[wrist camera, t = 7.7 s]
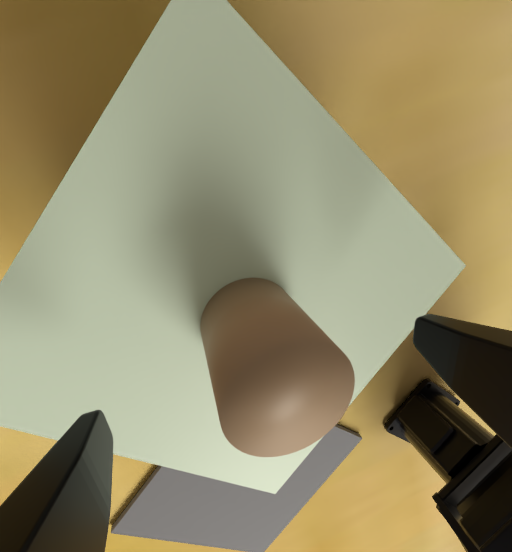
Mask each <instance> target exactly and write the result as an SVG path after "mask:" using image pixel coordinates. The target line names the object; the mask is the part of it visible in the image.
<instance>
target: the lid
mask: <svg viewBox="0 0 512 552" xmlns="http://www.w3.org/2000/svg"><path fill="white" fill-rule="evenodd" d="M465 266H466V265H465V264H464V263H463V262H462V261H461V260H460V259H459V257H458V256H457V255H456V254H455V253H454V252H453V251H452V250H451V249H450V247H449V246H448V245H447V244H446V243H445V242H444V241H443V240H442V239H441V237H440V236H439V235H438V234H437V233H436V232H435V231H434V230H433V229H432V227H431V226H430V225H429V224H428V223H427V222H426V221H425V220H424V219H423V217H422V216H421V215H420V214H419V213H418V212H417V211H416V210H415V209H414V208H413V206H412V205H411V204H410V203H409V202H408V201H407V200H406V199H405V198H404V196H403V195H402V194H401V193H400V192H399V191H398V190H397V189H396V188H395V186H394V185H393V184H392V183H391V182H390V181H389V180H388V179H387V178H386V176H385V175H384V174H383V173H382V172H381V171H380V170H379V169H378V168H377V166H376V165H375V164H374V163H373V162H372V161H371V160H370V159H369V158H368V157H367V155H366V154H365V153H364V152H363V151H362V150H361V149H360V148H359V147H358V145H357V144H356V143H355V142H354V141H353V140H352V139H351V138H350V137H349V135H348V134H347V133H346V132H345V131H344V130H343V129H342V128H341V127H340V125H339V124H338V123H337V122H336V121H335V120H334V119H333V118H332V117H331V115H330V114H329V113H328V112H327V111H326V110H325V109H324V108H323V107H322V106H321V104H320V103H319V102H318V101H317V100H316V99H315V98H314V97H313V96H312V94H311V93H310V92H309V91H308V90H307V89H306V88H305V87H304V86H303V84H302V83H301V82H300V81H299V80H298V79H297V78H296V77H295V76H294V74H293V73H292V72H291V71H290V70H289V69H288V68H287V67H286V66H285V65H284V63H283V62H282V61H281V60H280V59H279V58H278V57H277V56H276V55H275V53H274V52H273V51H272V50H271V49H270V48H269V47H268V46H267V45H266V43H265V42H264V41H263V40H262V39H261V38H260V37H259V36H258V35H257V33H256V32H255V31H254V30H253V29H252V28H251V27H250V26H249V25H248V23H247V22H246V21H245V20H244V19H243V18H242V17H241V16H240V15H239V14H238V12H237V11H236V10H235V9H234V8H233V7H232V6H231V5H230V4H229V2H228V1H227V0H171V1H170V3H169V4H168V6H167V8H166V9H165V11H164V13H163V14H162V16H161V18H160V19H159V21H158V23H157V24H156V26H155V28H154V29H153V31H152V33H151V34H150V36H149V38H148V39H147V41H146V43H145V44H144V46H143V47H142V49H141V51H140V52H139V54H138V56H137V57H136V59H135V61H134V62H133V64H132V66H131V67H130V69H129V71H128V72H127V74H126V76H125V77H124V79H123V81H122V82H121V84H120V86H119V87H118V89H117V90H116V92H115V94H114V95H113V97H112V99H111V100H110V102H109V104H108V105H107V107H106V109H105V110H104V112H103V114H102V115H101V117H100V119H99V120H98V122H97V124H96V125H95V127H94V129H93V130H92V132H91V133H90V135H89V137H88V138H87V140H86V142H85V143H84V145H83V147H82V148H81V150H80V152H79V153H78V155H77V157H76V158H75V160H74V162H73V163H72V165H71V167H70V168H69V170H68V172H67V173H66V175H65V177H64V178H63V180H62V181H61V183H60V185H59V186H58V188H57V190H56V191H55V193H54V195H53V196H52V198H51V200H50V201H49V203H48V205H47V206H46V208H45V210H44V211H43V213H42V215H41V216H40V218H39V220H38V221H37V223H36V224H35V226H34V228H33V229H32V231H31V233H30V234H29V236H28V238H27V239H26V241H25V243H24V244H23V246H22V248H21V249H20V251H19V253H18V254H17V256H16V258H15V259H14V261H13V263H12V264H11V266H10V267H9V269H8V271H7V272H6V274H5V276H4V277H3V279H2V281H1V282H0V426H1V427H5V428H9V429H13V430H18V431H22V432H26V433H30V434H34V435H38V436H42V437H46V438H50V439H54V440H59V439H60V438H61V437H62V436H63V435H64V434H65V432H66V431H67V430H68V429H69V428H70V427H71V426H72V424H73V423H74V422H75V421H76V420H77V419H78V418H79V417H80V416H81V415H82V414H84V413H88V412H91V411H95V410H101V411H102V412H103V413H104V415H105V418H106V420H107V423H108V425H109V427H110V430H111V432H112V435H113V454H115V455H119V456H123V457H127V458H131V459H135V460H139V461H143V462H147V463H151V464H155V465H159V466H163V467H167V468H172V469H176V470H180V471H184V472H188V473H192V474H196V475H200V476H204V477H208V478H212V479H216V480H220V481H224V482H228V483H232V484H236V485H240V486H244V487H248V488H253V489H257V490H261V491H265V492H269V493H273V494H276V493H277V491H278V490H279V489H280V488H281V487H282V486H283V484H284V483H285V482H286V481H287V480H288V478H289V477H290V476H291V475H292V474H293V472H294V471H295V470H296V469H297V468H298V466H299V465H300V464H301V463H302V462H303V460H304V459H305V458H306V457H307V456H308V454H309V453H310V452H311V451H312V450H313V448H314V447H315V446H316V445H317V444H318V442H319V441H320V440H321V439H322V438H323V436H324V435H326V434H327V433H328V432H329V431H330V430H331V429H332V428H333V427H334V426H335V425H336V424H337V423H338V422H339V420H340V419H341V418H342V416H343V415H344V413H345V411H346V410H347V408H348V406H349V405H350V404H351V403H352V402H353V400H354V399H355V398H356V397H357V396H358V395H359V393H360V392H361V391H362V390H363V389H364V387H365V386H366V385H367V384H368V383H369V381H370V380H371V379H372V378H373V377H374V375H375V374H376V373H377V372H378V371H379V369H380V368H381V367H382V366H383V365H384V363H385V362H386V361H387V360H388V359H389V357H390V356H391V355H392V354H393V353H394V351H395V350H396V349H397V348H398V347H399V345H400V344H401V343H402V342H403V341H404V339H405V338H406V337H407V336H408V335H409V333H410V332H411V331H412V330H413V329H414V325H415V320H416V318H418V317H420V316H423V315H425V314H426V313H427V312H428V311H429V309H430V308H431V307H432V306H433V305H434V304H435V302H436V301H437V300H438V299H439V298H440V296H441V295H442V294H443V293H444V292H445V290H446V289H447V288H448V287H449V286H450V284H451V283H452V282H453V281H454V280H455V278H456V277H457V276H458V275H459V274H460V272H461V271H462V270H463V269H464V268H465Z"/></svg>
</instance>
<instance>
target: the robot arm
mask: <svg viewBox="0 0 512 552" xmlns="http://www.w3.org/2000/svg"><path fill="white" fill-rule="evenodd" d="M413 343H414V345H415V347H416V348H417V350H418V351H419V352H420V353H421V354H422V356H423V357H424V358H425V359H426V360H427V361H428V363H429V364H430V365H431V366H432V367H433V368H434V370H435V371H436V372H437V373H438V374H439V375H440V377H441V378H442V379H443V380H444V381H445V382H446V383H447V385H448V386H449V387H450V388H451V389H452V390H453V391H454V392H455V393H456V394H457V395H458V396H459V397H460V398H461V399H462V400H463V401H464V402H465V403H466V404H467V405H468V406H469V407H470V408H471V409H472V410H473V411H474V412H475V413H476V414H477V415H478V416H479V417H480V418H481V419H482V420H483V421H484V422H485V423H486V424H487V425H488V426H489V427H490V428H491V429H492V430H493V431H494V432H495V433H496V435H495V436H493V435H492V434H491V433H490V432H488V431H487V430H486V429H485V428H483V427H482V426H481V425H480V424H479V423H477V422H476V421H475V420H474V419H473V418H471V417H470V416H469V415H468V414H466V413H465V412H464V411H463V410H462V409H460V408H459V407H458V405H459V404H460V401H459V400H458V399H457V398H455V397H454V396H452V395H451V394H450V393H448V392H447V391H445V390H444V389H442V388H441V387H439V386H438V385H437V384H435V383H434V382H432V381H431V380H429V379H425V380H424V381H423V382H422V383H421V384H420V385H419V386H418V387H417V389H416V390H415V391H414V392H413V393H412V394H411V395H410V397H409V398H408V399H407V400H406V401H405V402H404V403H403V405H402V406H401V407H400V408H399V409H398V410H397V411H396V413H395V414H394V415H393V416H392V417H391V418H390V420H389V421H388V422H387V423H386V424H385V426H384V428H385V429H386V430H387V432H389V433H391V434H393V435H395V436H397V437H399V438H401V439H403V440H405V441H407V442H409V443H411V444H412V445H413V446H414V447H415V449H416V450H417V451H418V452H419V453H420V454H421V455H422V456H423V458H424V459H425V460H426V461H427V462H428V463H429V464H430V465H431V467H432V468H433V469H434V470H435V471H436V472H437V473H438V475H439V476H440V477H441V478H442V479H443V480H444V481H445V482H446V485H445V486H444V487H443V488H442V489H441V490H440V491H439V492H438V493H437V492H436V493H435V494H434V495H433V496H432V498H433V499H434V501H435V502H436V503H437V506H436V508H437V509H438V510H439V512H440V513H441V514H442V515H443V517H444V518H445V519H446V520H447V522H448V523H449V525H450V526H451V528H452V529H453V531H454V532H455V533H456V535H457V537H458V538H459V540H460V542H461V543H462V545H463V547H464V549H465V550H466V552H512V331H509V330H504V329H500V328H495V327H490V326H485V325H480V324H476V323H471V322H466V321H461V320H456V319H452V318H447V317H442V316H437V315H432V314H427V315H423V316H420V317H418V318H416V320H415V325H414V334H413ZM112 464H113V435H112V432H111V430H110V427H109V425H108V423H107V420H106V418H105V415H104V413H103V412H102V411H101V410H95V411H91V412H88V413H84V414H82V415H81V416H80V417H79V418H78V419H77V420H76V421H75V422H74V423H73V424H72V426H71V427H70V428H69V429H68V430H67V431H66V432H65V434H64V435H63V436H62V437H61V438H60V439H59V440H58V441H57V443H56V444H55V445H54V446H53V447H52V448H51V449H50V450H49V452H48V453H47V454H46V455H45V456H44V457H43V458H42V459H41V461H40V462H39V463H38V464H37V465H36V466H35V467H34V468H33V470H32V471H31V472H30V473H29V474H28V475H27V476H26V478H25V479H24V480H23V481H22V482H21V483H20V484H19V485H18V487H17V488H16V489H15V490H14V491H13V492H12V493H11V494H10V496H9V497H8V498H7V499H6V500H5V501H4V502H3V503H2V505H1V506H0V552H105V546H106V539H107V532H108V525H109V517H110V507H111V487H112Z"/></svg>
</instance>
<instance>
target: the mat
mask: <svg viewBox="0 0 512 552" xmlns="http://www.w3.org/2000/svg"><path fill="white" fill-rule="evenodd" d="M361 439H362V437H361V436H360V435H359V434H358V433H356V432H353V431H351V430H349V429H347V428H344V427H342V426H340V425H338V424H336V425H335V426H334V427H333V428H332V429H331V430H330V431H329V432H328V433H327V434H326V435H324V436H323V438H322V439H321V440H320V441H319V442H318V444H317V445H316V446H315V447H314V448H313V450H312V451H311V452H310V453H309V454H308V456H307V457H306V458H305V459H304V460H303V462H302V463H301V464H300V465H299V466H298V468H297V469H296V470H295V471H294V472H293V474H292V475H291V476H290V477H289V478H288V480H287V481H286V482H285V483H284V484H283V486H282V487H281V488H280V489H279V490H278V491H277V493H276V494H273V493H269V492H265V491H261V490H257V489H253V488H248V487H244V486H240V485H236V484H232V483H228V482H224V481H220V480H216V479H212V478H208V477H204V476H200V475H196V474H192V473H188V472H184V471H180V470H176V469H172V468H167V467H163V466H159V465H158V467H157V468H156V469H155V470H154V472H153V473H152V474H151V476H150V477H149V478H148V480H147V481H146V482H145V484H144V485H143V486H142V487H141V489H140V490H139V491H138V493H137V494H136V495H135V497H134V498H133V499H132V500H131V502H130V503H129V504H128V506H127V507H126V508H125V510H124V511H123V512H122V514H121V515H120V516H119V517H118V519H117V520H116V521H115V523H114V524H113V525H112V529H111V533H114V534H121V535H129V536H136V537H143V538H151V539H158V540H166V541H173V542H180V543H188V544H195V545H203V546H210V547H218V548H225V549H232V550H240V551H247V552H264V551H265V550H266V549H267V548H268V547H269V546H270V544H271V543H272V542H273V541H274V540H275V539H276V537H277V536H278V535H279V534H280V533H281V532H282V531H283V529H284V528H285V527H286V526H287V525H288V524H289V522H290V521H291V520H292V519H293V518H294V517H295V516H296V514H297V513H298V512H299V511H300V510H301V509H302V507H303V506H304V505H305V504H306V503H307V502H308V501H309V499H310V498H311V497H312V496H313V495H314V494H315V492H316V491H317V490H318V489H319V488H320V487H321V485H322V484H323V483H324V482H325V481H326V480H327V479H328V477H329V476H330V475H331V474H332V473H333V472H334V470H335V469H336V468H337V467H338V466H339V465H340V464H341V462H342V461H343V460H344V459H345V458H346V457H347V455H348V454H349V453H350V452H351V451H352V450H353V449H354V447H355V446H356V445H357V444H358V443H359V442H360V440H361Z"/></svg>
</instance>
